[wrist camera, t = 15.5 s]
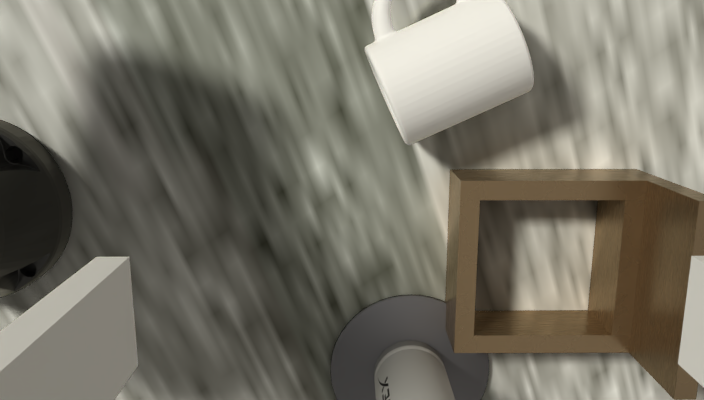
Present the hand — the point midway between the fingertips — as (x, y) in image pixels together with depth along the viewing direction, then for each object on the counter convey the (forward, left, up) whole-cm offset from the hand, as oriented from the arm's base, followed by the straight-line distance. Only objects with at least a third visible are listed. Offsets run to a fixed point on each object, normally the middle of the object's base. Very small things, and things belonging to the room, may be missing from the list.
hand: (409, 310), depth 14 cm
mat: (+4, -21, -37) cm, 42 cm away
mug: (+5, +7, -37) cm, 38 cm away
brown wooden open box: (+14, -10, -37) cm, 41 cm away
